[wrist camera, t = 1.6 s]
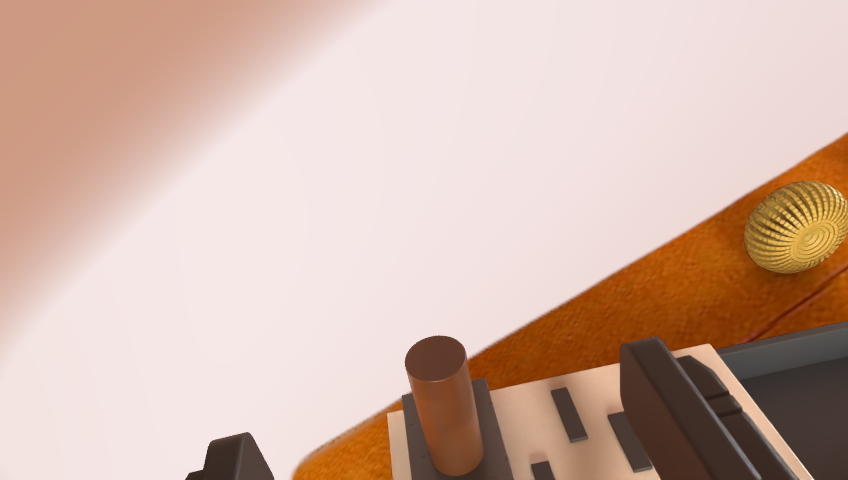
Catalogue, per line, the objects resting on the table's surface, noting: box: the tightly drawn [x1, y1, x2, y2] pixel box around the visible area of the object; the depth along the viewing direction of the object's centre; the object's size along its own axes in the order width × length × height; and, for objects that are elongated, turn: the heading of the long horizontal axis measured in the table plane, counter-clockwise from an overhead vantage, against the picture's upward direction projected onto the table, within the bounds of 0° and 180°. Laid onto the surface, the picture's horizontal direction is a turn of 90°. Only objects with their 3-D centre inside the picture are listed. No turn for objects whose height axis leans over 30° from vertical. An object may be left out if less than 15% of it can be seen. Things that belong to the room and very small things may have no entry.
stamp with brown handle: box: [402, 336, 515, 480], centre depth 29 cm, size 5×9×9 cm, turn 7°
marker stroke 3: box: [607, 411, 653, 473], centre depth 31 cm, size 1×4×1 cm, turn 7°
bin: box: [715, 321, 848, 480], centre depth 34 cm, size 17×14×3 cm
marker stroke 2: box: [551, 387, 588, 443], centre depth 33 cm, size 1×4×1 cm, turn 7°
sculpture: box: [744, 181, 848, 273], centre depth 47 cm, size 8×4×8 cm, turn 100°
